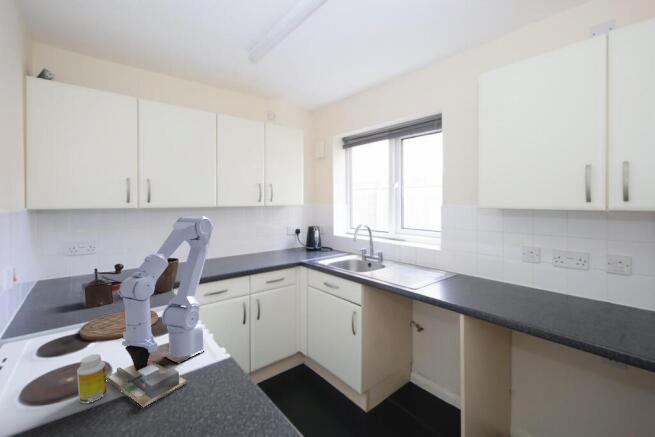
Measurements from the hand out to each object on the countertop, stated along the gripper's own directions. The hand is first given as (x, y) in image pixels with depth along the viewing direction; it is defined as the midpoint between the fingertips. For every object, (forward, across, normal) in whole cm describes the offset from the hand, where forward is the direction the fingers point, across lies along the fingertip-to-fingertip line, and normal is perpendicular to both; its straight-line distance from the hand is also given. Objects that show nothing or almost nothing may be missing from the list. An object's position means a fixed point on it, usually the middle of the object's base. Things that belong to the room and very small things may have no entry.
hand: (141, 369), depth 84 cm
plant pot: (+3, -73, +46) cm, 87 cm away
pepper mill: (+3, -80, +22) cm, 83 cm away
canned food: (+3, -100, +32) cm, 105 cm away
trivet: (+3, -44, +14) cm, 46 cm away
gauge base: (+3, +2, 0) cm, 4 cm away
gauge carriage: (+2, +4, -2) cm, 5 cm away
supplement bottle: (+3, -3, -10) cm, 11 cm away
